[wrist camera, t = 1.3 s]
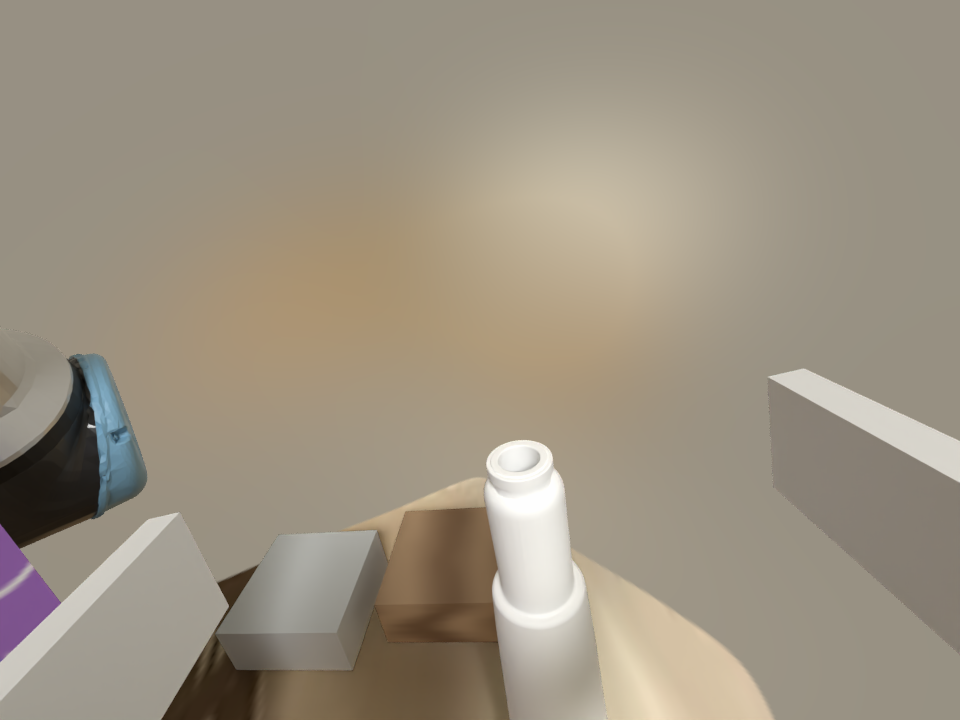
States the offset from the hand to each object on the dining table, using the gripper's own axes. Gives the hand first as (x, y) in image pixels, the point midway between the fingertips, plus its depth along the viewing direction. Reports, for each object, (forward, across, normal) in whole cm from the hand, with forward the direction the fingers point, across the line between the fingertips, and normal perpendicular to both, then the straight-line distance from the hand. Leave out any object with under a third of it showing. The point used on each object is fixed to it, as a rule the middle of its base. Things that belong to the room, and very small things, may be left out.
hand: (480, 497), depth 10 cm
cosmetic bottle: (+7, -1, -24) cm, 25 cm away
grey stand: (+21, -18, -21) cm, 34 cm away
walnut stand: (+21, -6, -22) cm, 31 cm away
